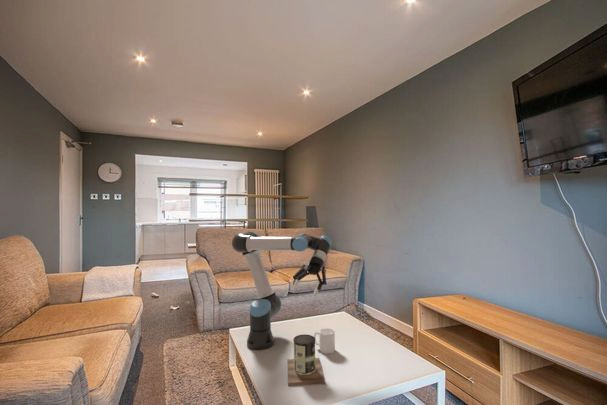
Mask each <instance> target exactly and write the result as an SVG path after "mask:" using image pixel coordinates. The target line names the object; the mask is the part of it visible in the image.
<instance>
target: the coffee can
mask: <svg viewBox="0 0 607 405" xmlns="http://www.w3.org/2000/svg"><path fill="white" fill-rule="evenodd" d="M292 340H293V359H294V371H295V372H296V373H297V374H300V375H309V374H312V373H314V372H315V370H316V368H315V358H316V344H315V337H314V335H311V334H305V333H304V334H299V335H296V336H294V337H293V339H292Z"/></svg>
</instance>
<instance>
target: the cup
mask: <svg viewBox="0 0 607 405" xmlns="http://www.w3.org/2000/svg"><path fill="white" fill-rule="evenodd" d="M335 333H336V332H335V330H334V329H333V328H328V327H327V328H326V327H325V328H321V329H320V330H319V331H316V332H315V331H314V334H313V337H315V346H316V345H317V346H319V351H320V352H321V353H322V354H326V355H329V354H333V353H335V351H336V345H335V344H336V341H335V340H336V338H335V337H336V336H335V335H336V334H335ZM317 335H318V337H319V341H317V339H316V338H317Z"/></svg>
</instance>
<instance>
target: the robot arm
mask: <svg viewBox="0 0 607 405" xmlns="http://www.w3.org/2000/svg"><path fill="white" fill-rule="evenodd" d="M332 243H333V241H332V239H331V237H330V236H328V235H320V237H316V236H313V235H310V234H307V233H303V232H301V233H299V234H298V236H260V235H258V233H257V232H255V231H246V232H239V233H237V234H236V235H234V236H233V238H232V239H231V247H232V248H233V250H234V251H236V252H237V253H242V257H244V258H246V262H247V265H248V267H249V270H250V273H251V277H252V279H253V282H254V285H255V289H256V291H257V294H258V295H257V297H256V300H253V302H251V303H250V307H249V332H248V337H247V340H246V346H247V347H248V348H249V349H251V350H254V351H255V350H257V351H259V350H262V351H263V350H266V349H269V348H271V347H272V346H274V343H275V340H274V339H275V338H274V335H273V331H272V330H271V329H272V328H271V327H272V326H271V325H272V324H271V322H272V319H273V318H274V317H275V316H276V315H278V313H279V312H280V310H281V309H282V300H281V298H280V297H279V296H278V295H277V293H276V292H275V290H273V289H272V286H271V283H270V281H269V278H268V275H267V271H266V269H265V266H264V263H263V260H262V257H261V251H296V252H303V251H304V252H305V250H307V249H310V250H313V251H314V252H313V253H312V255H311V258H310V260H309V262H308V263H309V264H308V265H306V264H303V265H302V266H301V267H300V269H298V271H297V272H295V274H294V275H293V276H292V279H293V283H292V287H291V292H292V293H295V292H296V290H297V288H298V286H299V283H300V281H301V280H302V279H304V278H305V277H307V276H309V275H311V276H312V275H313V276H316V278H317V279H318V282H317V284H316V286H315V289H313V290H314V291H313V296H314V297H317V296H318V294H319V291H321V290H322V287H323V286H326V285H328V284H327V276H326V275H327V274H326V272H327V269H326V266H324V264H325V261H326V258H327V256H328V253H329V251H330V249H331V245H332ZM320 272H321V275H320Z"/></svg>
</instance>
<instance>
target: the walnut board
mask: <svg viewBox="0 0 607 405" xmlns="http://www.w3.org/2000/svg"><path fill="white" fill-rule="evenodd" d="M286 360H287V384H288V385H287V386H306V385H325V384H326V380H325V376H324V372H323V369H322V367H323V366H322V364H321V360H320V357H315V368H316V370H315V372H314V373H312V374H309V375H300V374H297V373H296V372H295V371H294V358H287V359H286Z"/></svg>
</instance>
